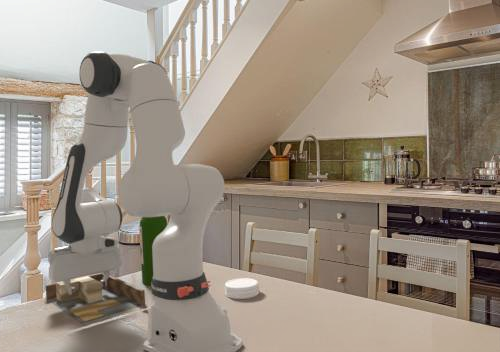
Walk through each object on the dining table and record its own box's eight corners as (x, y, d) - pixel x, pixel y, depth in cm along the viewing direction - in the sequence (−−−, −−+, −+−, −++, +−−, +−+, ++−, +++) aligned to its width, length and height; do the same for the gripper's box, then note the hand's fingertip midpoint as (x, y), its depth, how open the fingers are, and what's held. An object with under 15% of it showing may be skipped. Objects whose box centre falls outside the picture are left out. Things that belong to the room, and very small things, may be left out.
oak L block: (102, 299, 123) (101, 282, 123) (70, 308, 117) (69, 290, 117) (87, 291, 131) (86, 275, 131) (56, 299, 125) (55, 282, 125)
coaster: (262, 289, 129) (262, 278, 129) (254, 300, 120) (254, 288, 119) (230, 288, 132) (230, 277, 131) (220, 299, 122) (220, 287, 122)
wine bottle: (141, 280, 142) (136, 183, 140) (168, 277, 145) (164, 181, 143) (143, 288, 134) (137, 185, 132) (172, 285, 136) (167, 183, 135)
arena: (145, 306, 118) (144, 290, 117) (81, 325, 106) (80, 307, 106) (103, 286, 138) (103, 272, 137) (46, 300, 126) (45, 285, 126)
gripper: (51, 251, 115) (54, 301, 116) (122, 239, 129) (125, 284, 130) (44, 248, 120) (47, 296, 121) (113, 236, 134) (115, 280, 134)
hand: (88, 290), depth 125 cm, fingers open, 8 cm apart
